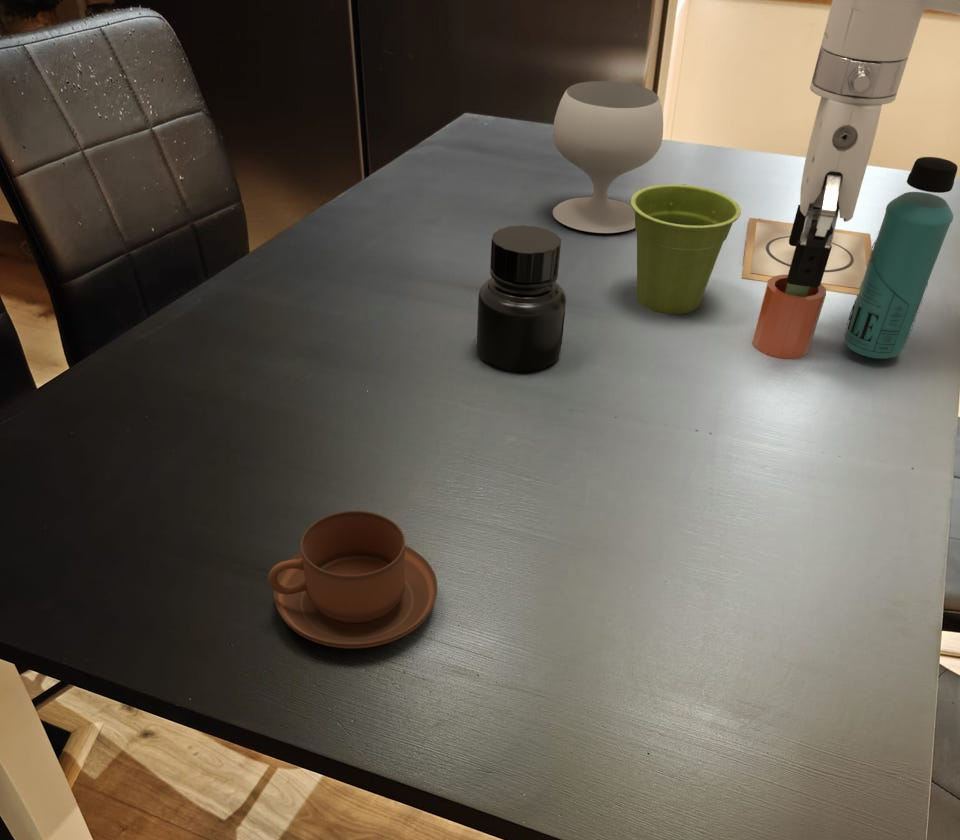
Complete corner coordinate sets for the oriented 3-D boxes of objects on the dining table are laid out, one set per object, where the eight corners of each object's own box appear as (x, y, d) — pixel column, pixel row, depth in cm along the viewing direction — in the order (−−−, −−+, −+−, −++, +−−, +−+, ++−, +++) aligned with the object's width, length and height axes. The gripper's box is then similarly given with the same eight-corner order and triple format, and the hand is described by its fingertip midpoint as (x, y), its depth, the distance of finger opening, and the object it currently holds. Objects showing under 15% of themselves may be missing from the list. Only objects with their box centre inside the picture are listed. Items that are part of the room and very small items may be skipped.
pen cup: (806, 340, 104) (826, 278, 99) (806, 366, 99) (826, 303, 94) (752, 332, 104) (768, 270, 100) (749, 358, 100) (766, 295, 95)
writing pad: (868, 238, 125) (870, 232, 125) (875, 301, 111) (878, 295, 111) (748, 221, 128) (749, 216, 127) (740, 282, 114) (742, 275, 113)
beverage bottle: (908, 357, 102) (986, 161, 88) (882, 379, 98) (958, 178, 84) (853, 337, 105) (919, 144, 90) (825, 357, 101) (890, 160, 87)
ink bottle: (578, 351, 100) (592, 237, 91) (535, 384, 95) (545, 267, 86) (502, 324, 103) (509, 213, 95) (456, 355, 98) (459, 239, 90)
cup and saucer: (326, 687, 64) (319, 623, 60) (248, 590, 71) (237, 526, 67) (468, 621, 70) (471, 557, 65) (383, 536, 76) (380, 473, 72)
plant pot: (596, 292, 110) (610, 192, 102) (678, 275, 114) (697, 178, 106) (654, 336, 103) (673, 232, 95) (739, 316, 107) (764, 215, 99)
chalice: (621, 247, 120) (640, 119, 109) (526, 221, 125) (535, 96, 114) (665, 214, 128) (686, 92, 118) (575, 191, 133) (587, 72, 123)
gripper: (907, 107, 77) (842, 306, 89) (894, 55, 89) (838, 237, 101) (814, 96, 78) (762, 295, 90) (814, 47, 90) (768, 228, 102)
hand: (803, 264), depth 95 cm, fingers open, 9 cm apart
